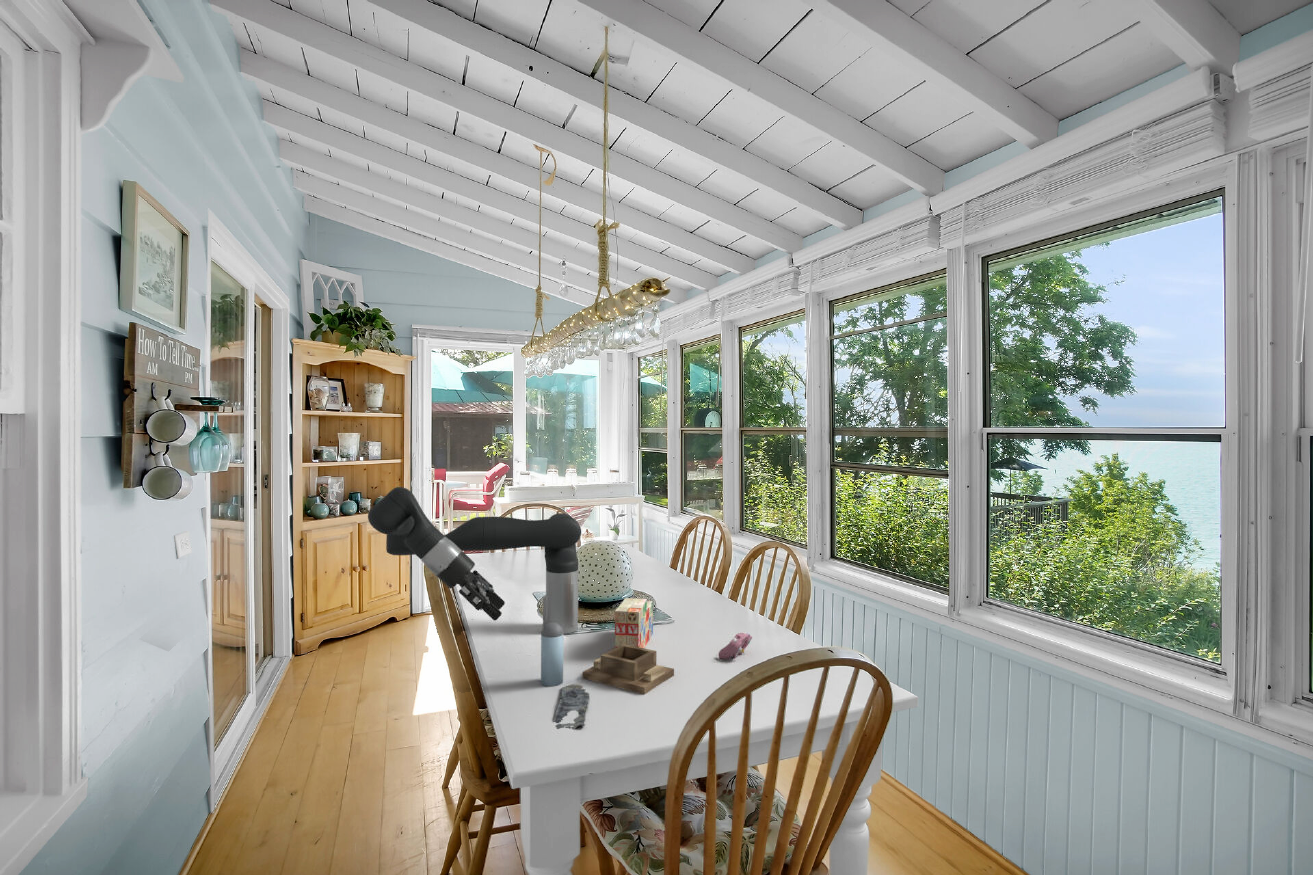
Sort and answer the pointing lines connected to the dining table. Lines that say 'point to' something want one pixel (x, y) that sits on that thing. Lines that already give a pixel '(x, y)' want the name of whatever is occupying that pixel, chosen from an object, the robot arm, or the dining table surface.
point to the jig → (629, 669)
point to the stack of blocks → (634, 622)
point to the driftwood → (572, 705)
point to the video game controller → (735, 646)
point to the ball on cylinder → (552, 655)
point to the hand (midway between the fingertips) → (500, 611)
